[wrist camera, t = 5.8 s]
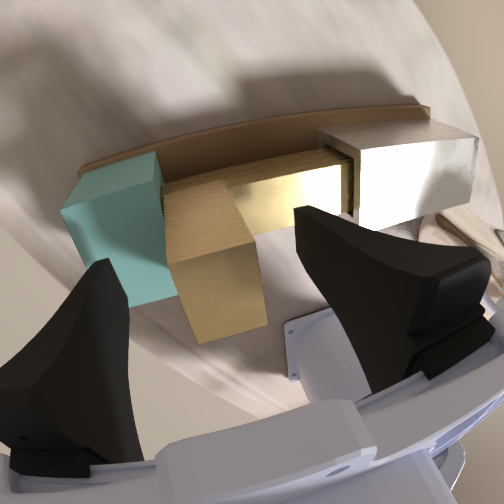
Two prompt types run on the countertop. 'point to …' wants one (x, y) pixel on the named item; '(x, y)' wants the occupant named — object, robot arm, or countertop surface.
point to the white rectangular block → (404, 168)
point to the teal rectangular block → (123, 225)
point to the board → (254, 140)
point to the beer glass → (474, 235)
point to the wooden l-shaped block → (241, 231)
